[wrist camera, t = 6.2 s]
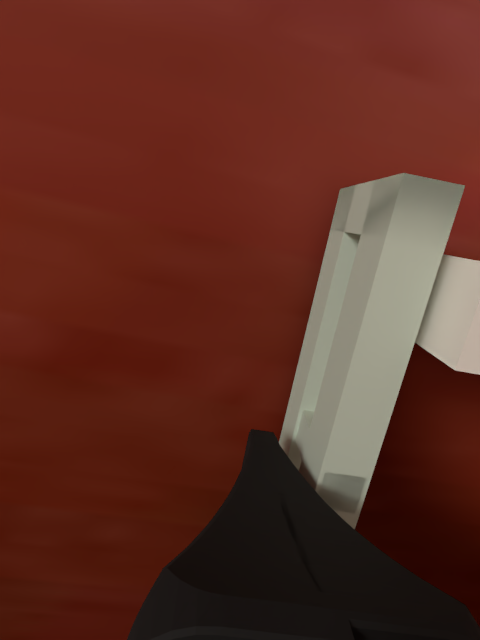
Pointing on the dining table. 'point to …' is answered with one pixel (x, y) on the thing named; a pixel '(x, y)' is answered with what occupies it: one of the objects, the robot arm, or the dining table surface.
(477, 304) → the gate frame
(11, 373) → the dining table surface
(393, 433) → the dining table surface
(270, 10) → the dining table surface
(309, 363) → the bar
